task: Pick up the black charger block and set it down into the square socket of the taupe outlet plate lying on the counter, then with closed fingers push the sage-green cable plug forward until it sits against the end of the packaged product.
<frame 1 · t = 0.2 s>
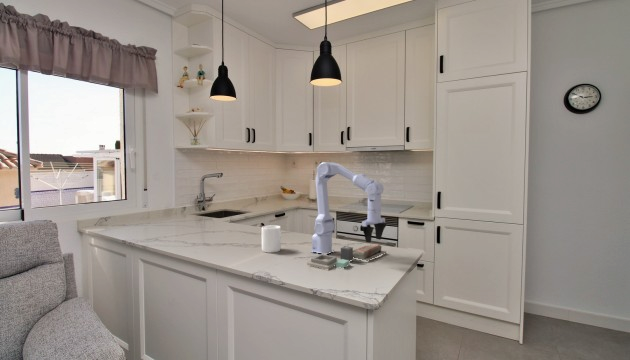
hand: (373, 240, 133), 10 cm above the worktop, tool pointing down, fingers open, 7 cm apart
cable plug: (342, 267, 129), on the worktop
packaged product: (368, 257, 144), on the worktop
mug: (269, 250, 153), on the worktop
charger: (346, 261, 136), on the worktop
outlet plate: (324, 263, 132), on the worktop
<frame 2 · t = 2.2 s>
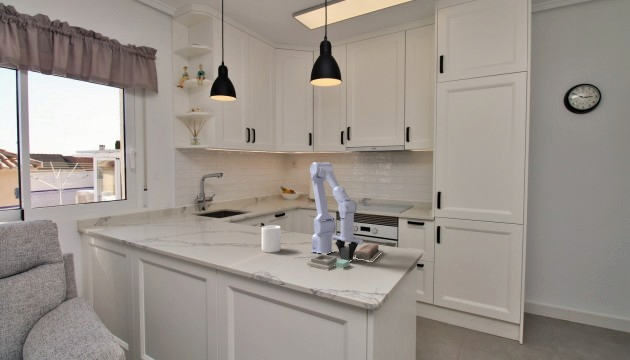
hand: (346, 257, 136), 1 cm above the worktop, tool pointing down, fingers closed on charger, 4 cm apart
charger: (346, 260, 136), on the worktop, touching gripper
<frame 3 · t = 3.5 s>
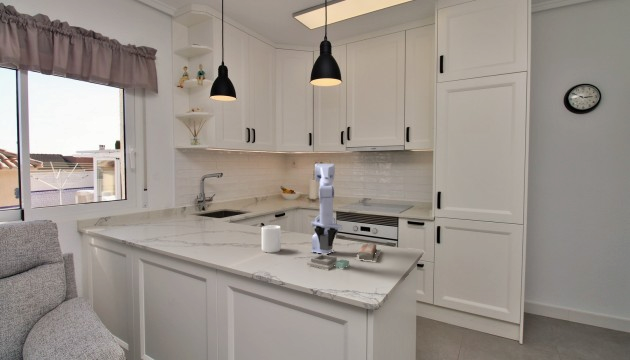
hand: (326, 244, 131), 8 cm above the worktop, tool pointing down, fingers closed on charger, 4 cm apart
charger: (326, 248, 131), point 7 cm above the worktop, touching gripper
when the fingers open (4 cm above the worktop, at t = 4.9 s): charger stays where it is, resting on outlet plate.
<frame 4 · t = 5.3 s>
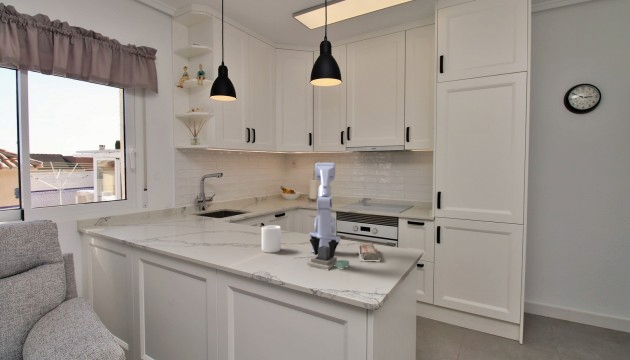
hand: (324, 255, 131), 4 cm above the worktop, tool pointing down, fingers open, 7 cm apart
charger: (324, 261, 131), point 1 cm above the worktop, touching outlet plate
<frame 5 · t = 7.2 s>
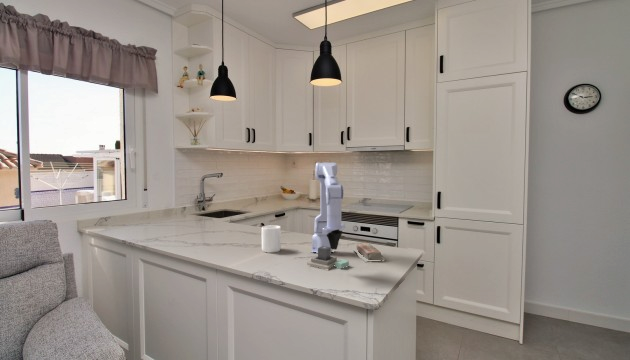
hand: (333, 248, 122), 9 cm above the worktop, tool pointing down, fingers closed
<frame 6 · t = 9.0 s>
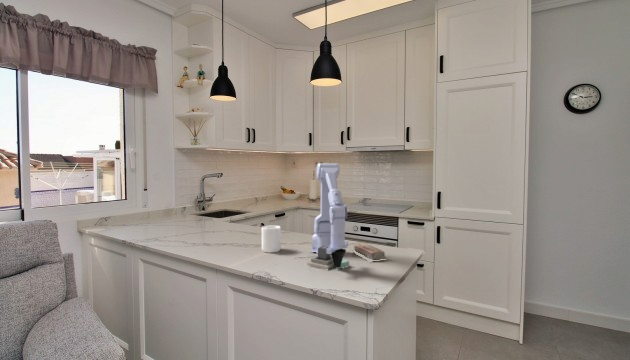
hand: (337, 267, 125), 1 cm above the worktop, tool pointing down, fingers closed
cable plug: (341, 267, 128), on the worktop, touching gripper
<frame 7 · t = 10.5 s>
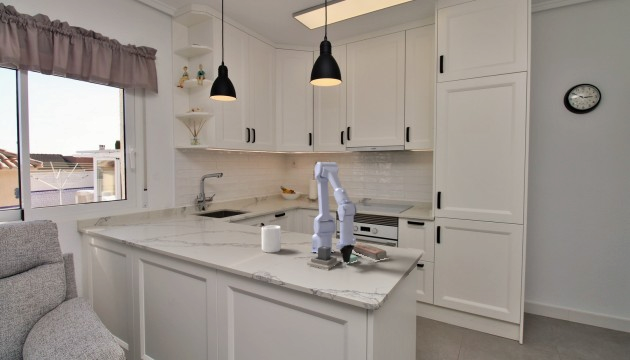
hand: (346, 262, 131), 1 cm above the worktop, tool pointing down, fingers closed
cable plug: (350, 262, 134), on the worktop, touching gripper
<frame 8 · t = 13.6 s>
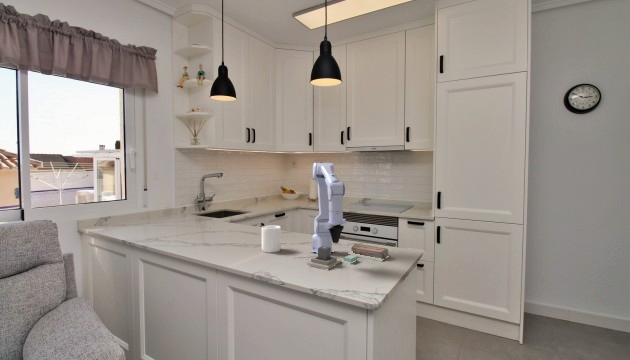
hand: (335, 242, 129), 10 cm above the worktop, tool pointing down, fingers closed
cable plug: (350, 262, 135), on the worktop
at the end: charger 0.1 cm off-centre on the outlet plate, point 1.2 cm above the outlet plate's base; charger tilted 0°; cable plug 0.4 cm from the target spot, on the worktop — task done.
